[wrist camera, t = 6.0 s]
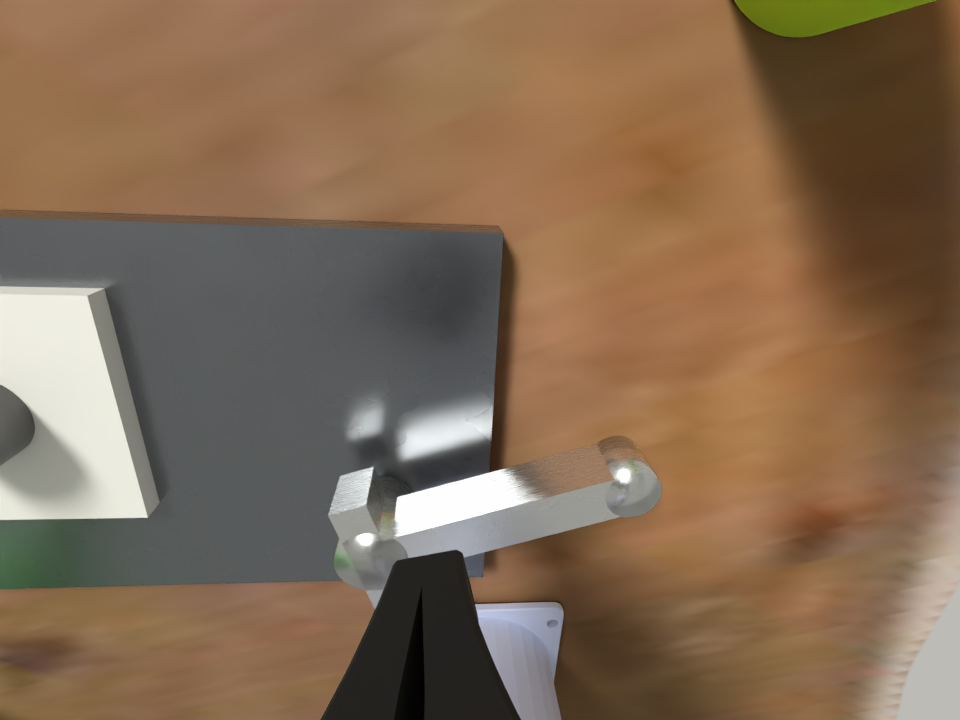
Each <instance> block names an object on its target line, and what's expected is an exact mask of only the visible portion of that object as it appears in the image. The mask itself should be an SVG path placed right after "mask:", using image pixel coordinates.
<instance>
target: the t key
mask: <svg viewBox="0 0 960 720" xmlns="http://www.w3.org/2000/svg"><path fill="white" fill-rule="evenodd" d="M661 494H662V486H661V483H660V481H659V479H658V478H657V476H656V475H655V473H654V472H653V470H652V469H651V467H650V466H649V464H648V462H647V461H646V459H645V458H644V456H643V455H642V453H641V452H640V450H639V449H638V447H637V446H636V444H635V443H634V442H633V441H632V440H631V439H629V438H626V437H623V436H612V437H608V438H605V439H603V440H601V441H600V442H598V443H597V444H595V445H592V446H588V447H584V448H580V449H577V450H573V451H569V452H565V453H562V454H558V455H554V456H550V457H546V458H543V459H539V460H535V461H531V462H528V463H524V464H520V465H516V466H513V467H509V468H505V469H501V470H498V471H494V472H490V473H486V474H482V475H479V476H475V477H471V478H467V479H464V480H460V481H456V482H452V483H449V484H445V485H441V486H437V487H434V488H430V489H426V490H422V491H418V492H415V493H412V491H411V490H410V488H409V487H408V486H407V485H406V484H405V483H404V482H402V481H401V480H399V479H397V478H394V477H391V476H386V475H377V473H376V470H375V468H374V467H371V468H367V469H363V470H360V471H356V472H352V473H348V474H345V475H341V476H340V478H339V481H338V485H337V488H336V491H335V494H334V498H333V501H332V504H331V508H330V511H329V514H328V517H329V519H330V521H331V523H332V525H333V527H334V529H335V531H336V533H337V535H338V537H339V540H338V544H337V548H336V552H335V555H334V568H335V571H336V573H337V574H338V576H339V577H340V578H341V579H342V580H343V581H344V582H346V583H347V584H349V585H350V586H353V587H355V588H358V589H362V590H366V592H367V594H368V596H369V598H370V600H371V602H372V604H373V606H374V608H375V609H376V606H377V604H378V602H379V599H380V597H381V595H382V592H383V590H384V587H385V585H386V582H387V580H388V577H389V574H390V572H391V569H392V566H393V565H394V563H395V562H396V561H397V560H401V559H407V558H412V557H418V556H423V555H429V554H434V553H440V552H445V551H451V550H458V551H460V552H462V553H463V556H464V557H468V556H472V555H476V554H480V553H483V552H487V551H491V550H495V549H499V548H503V547H507V546H510V545H514V544H518V543H522V542H526V541H530V540H534V539H537V538H541V537H545V536H549V535H553V534H557V533H561V532H564V531H568V530H572V529H576V528H580V527H584V526H588V525H591V524H595V523H599V522H603V521H607V520H611V519H615V518H618V517H636V516H640V515H643V514H645V513H647V512H648V511H650V510H651V509H652V508H654V506H655V505H656V504H657V503H658V501H659V500H660V497H661Z"/></svg>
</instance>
